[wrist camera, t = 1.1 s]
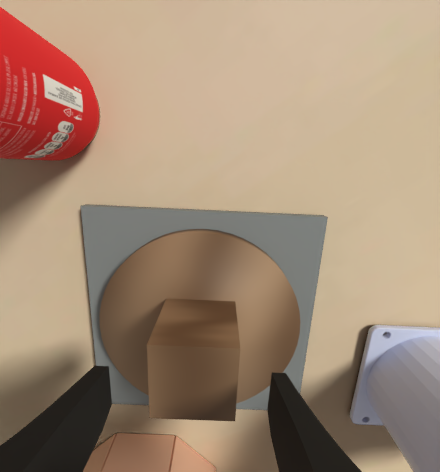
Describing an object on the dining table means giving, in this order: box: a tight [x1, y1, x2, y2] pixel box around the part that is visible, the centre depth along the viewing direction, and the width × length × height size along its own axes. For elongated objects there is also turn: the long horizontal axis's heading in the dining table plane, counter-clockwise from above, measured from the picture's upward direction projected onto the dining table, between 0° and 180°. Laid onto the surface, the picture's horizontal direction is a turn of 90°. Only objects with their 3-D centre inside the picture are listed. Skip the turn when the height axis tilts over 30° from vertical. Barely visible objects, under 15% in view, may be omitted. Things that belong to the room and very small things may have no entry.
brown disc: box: [99, 229, 300, 421], centre depth 14 cm, size 12×12×5 cm
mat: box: [81, 205, 328, 410], centre depth 17 cm, size 14×14×1 cm
